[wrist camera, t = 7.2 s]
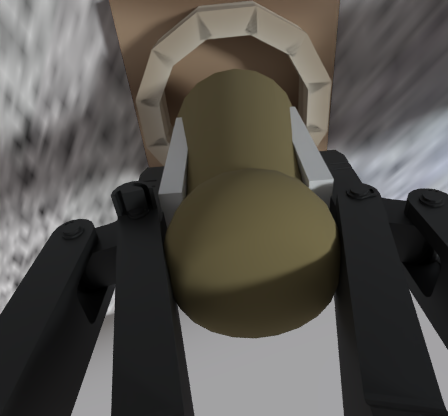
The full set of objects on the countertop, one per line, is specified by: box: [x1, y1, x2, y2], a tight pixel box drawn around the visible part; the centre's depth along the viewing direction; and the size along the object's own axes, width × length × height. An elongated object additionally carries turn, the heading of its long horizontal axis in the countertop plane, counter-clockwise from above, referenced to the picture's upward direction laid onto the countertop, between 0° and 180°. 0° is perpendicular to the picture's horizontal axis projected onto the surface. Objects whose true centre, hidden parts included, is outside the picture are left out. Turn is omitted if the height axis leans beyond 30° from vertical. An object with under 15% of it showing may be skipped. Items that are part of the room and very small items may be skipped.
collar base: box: [109, 0, 340, 167], centre depth 21 cm, size 12×12×4 cm
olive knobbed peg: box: [163, 69, 341, 338], centre depth 14 cm, size 6×6×11 cm
